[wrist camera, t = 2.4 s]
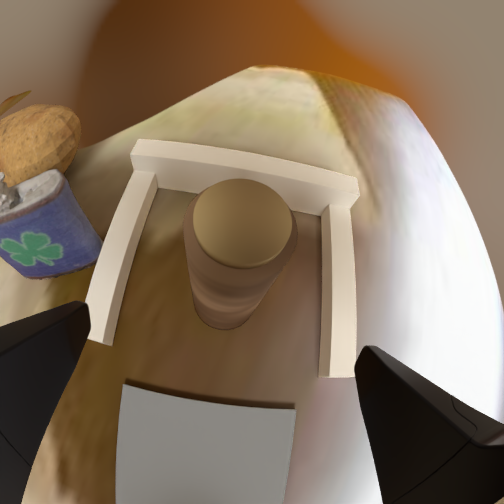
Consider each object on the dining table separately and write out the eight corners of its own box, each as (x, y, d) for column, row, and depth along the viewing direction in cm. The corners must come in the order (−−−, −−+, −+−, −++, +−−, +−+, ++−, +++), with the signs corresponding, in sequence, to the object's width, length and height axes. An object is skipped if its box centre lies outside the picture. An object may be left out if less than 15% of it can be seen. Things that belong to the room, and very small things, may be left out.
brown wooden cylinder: (208, 339, 18) (209, 294, 8) (184, 284, 20) (167, 188, 10) (264, 315, 19) (323, 247, 10) (238, 263, 21) (268, 161, 11)
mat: (274, 536, 11) (275, 538, 11) (117, 515, 10) (116, 517, 10) (294, 409, 17) (296, 409, 16) (124, 384, 16) (123, 384, 15)
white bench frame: (341, 377, 18) (370, 375, 15) (88, 339, 16) (64, 329, 13) (339, 203, 25) (356, 177, 22) (144, 169, 24) (138, 138, 20)
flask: (105, 236, 20) (55, 141, 11) (106, 268, 19) (43, 181, 9) (22, 254, 18) (-44, 184, 8) (19, 284, 17) (-57, 222, 7)
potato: (25, 143, 23) (5, 98, 16) (107, 142, 25) (92, 82, 18) (-12, 204, 19) (-45, 161, 12) (67, 216, 20) (31, 156, 13)
